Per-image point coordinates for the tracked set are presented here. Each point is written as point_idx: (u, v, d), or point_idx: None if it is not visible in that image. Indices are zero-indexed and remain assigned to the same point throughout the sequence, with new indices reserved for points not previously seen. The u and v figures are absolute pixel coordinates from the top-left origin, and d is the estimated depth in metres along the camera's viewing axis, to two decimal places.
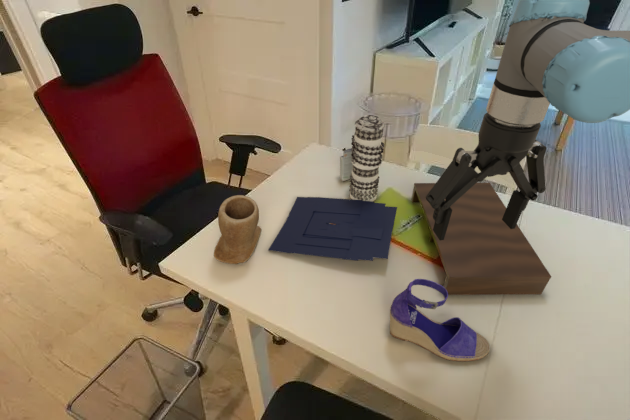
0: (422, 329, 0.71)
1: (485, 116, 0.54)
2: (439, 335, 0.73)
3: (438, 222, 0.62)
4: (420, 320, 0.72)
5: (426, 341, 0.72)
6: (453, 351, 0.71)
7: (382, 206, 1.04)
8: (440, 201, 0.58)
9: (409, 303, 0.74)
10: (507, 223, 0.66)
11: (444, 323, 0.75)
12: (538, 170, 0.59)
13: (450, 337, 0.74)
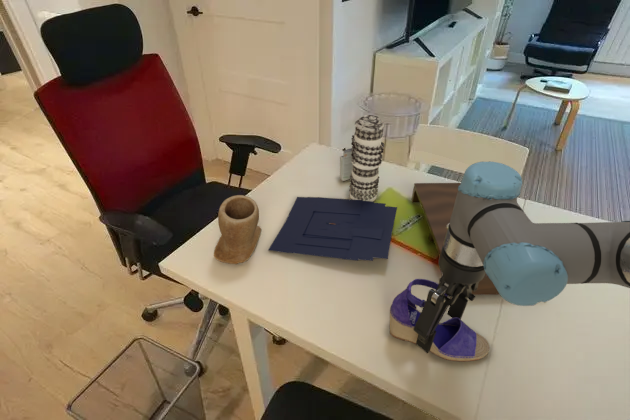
0: None
1: (445, 256, 0.60)
2: (439, 335, 0.73)
3: (425, 342, 0.68)
4: None
5: None
6: (452, 351, 0.71)
7: (382, 207, 1.04)
8: (429, 332, 0.64)
9: (409, 303, 0.74)
10: (453, 317, 0.76)
11: (444, 323, 0.75)
12: None
13: (449, 337, 0.74)
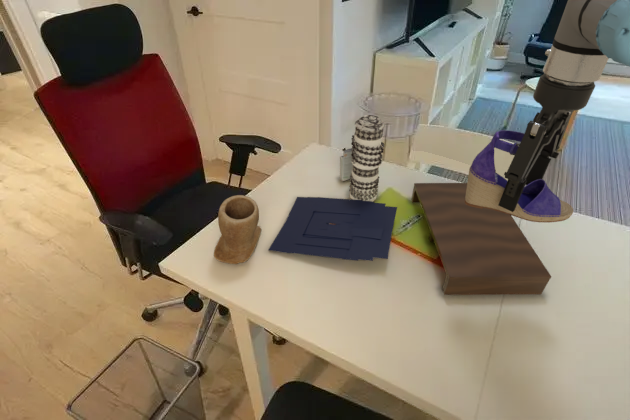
0: None
1: (547, 82, 0.56)
2: (520, 198, 0.70)
3: (514, 195, 0.64)
4: (502, 180, 0.68)
5: None
6: (538, 210, 0.67)
7: (382, 206, 1.04)
8: (524, 175, 0.60)
9: None
10: None
11: None
12: (565, 127, 0.65)
13: (530, 202, 0.71)
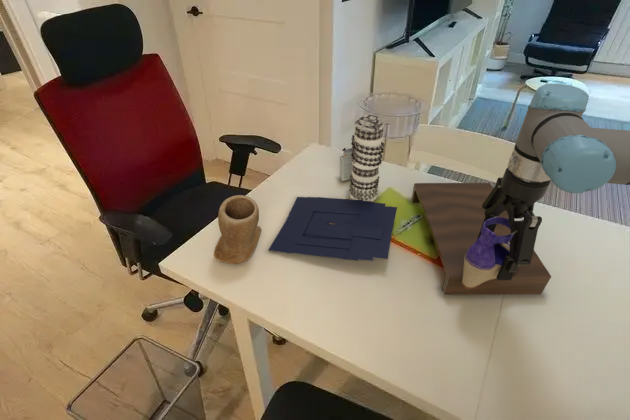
0: (496, 262, 0.76)
1: (525, 184, 0.65)
2: (496, 261, 0.80)
3: None
4: None
5: None
6: None
7: (382, 207, 1.04)
8: None
9: None
10: None
11: None
12: None
13: (497, 257, 0.83)
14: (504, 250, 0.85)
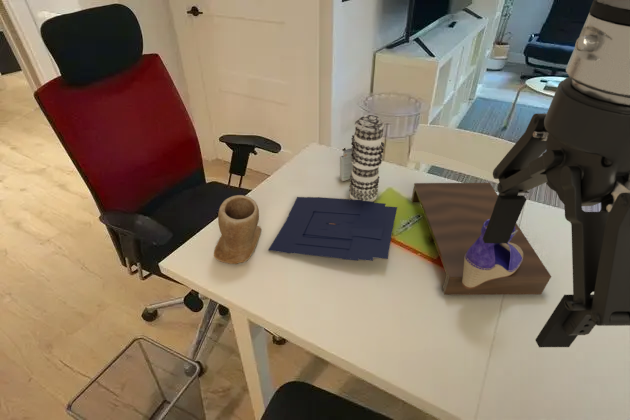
0: (496, 262, 0.76)
1: (621, 110, 0.24)
2: (496, 261, 0.80)
3: None
4: None
5: (499, 271, 0.78)
6: (514, 264, 0.80)
7: (382, 206, 1.04)
8: None
9: None
10: (498, 241, 0.44)
11: None
12: None
13: (497, 257, 0.83)
14: (504, 250, 0.85)
